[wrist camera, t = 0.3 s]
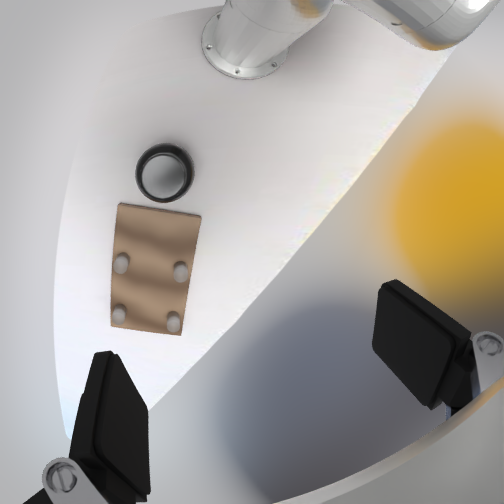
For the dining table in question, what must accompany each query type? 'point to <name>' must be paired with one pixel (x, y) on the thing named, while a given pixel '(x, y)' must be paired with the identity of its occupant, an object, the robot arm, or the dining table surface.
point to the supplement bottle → (165, 172)
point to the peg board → (152, 268)
